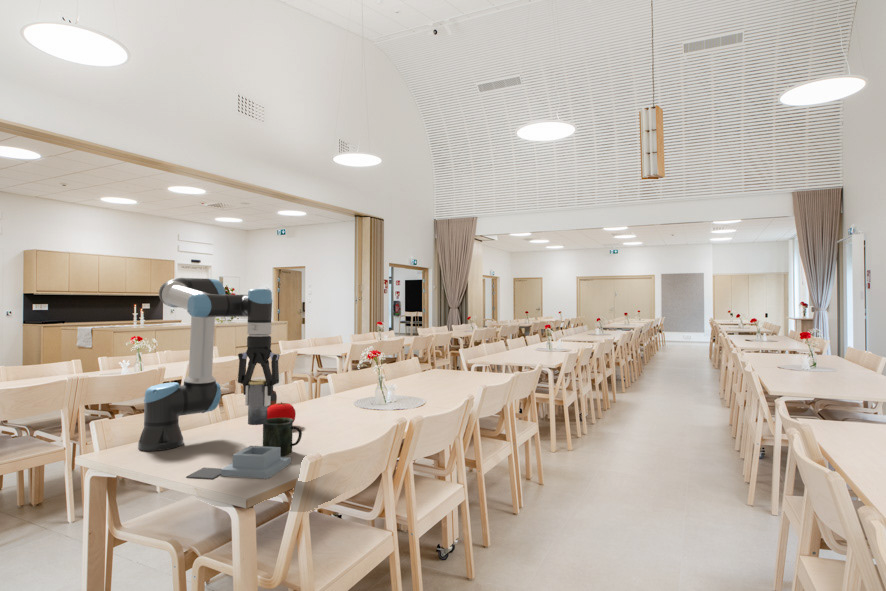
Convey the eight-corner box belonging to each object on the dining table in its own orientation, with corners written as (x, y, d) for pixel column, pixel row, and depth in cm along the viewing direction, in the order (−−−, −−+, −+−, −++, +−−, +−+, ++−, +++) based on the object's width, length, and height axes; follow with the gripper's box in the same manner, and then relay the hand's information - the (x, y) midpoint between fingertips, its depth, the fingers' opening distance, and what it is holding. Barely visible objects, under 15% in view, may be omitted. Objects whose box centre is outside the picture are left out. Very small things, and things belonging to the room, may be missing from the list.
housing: (220, 475, 162) (221, 456, 162) (247, 460, 178) (247, 443, 178) (268, 478, 160) (268, 459, 160) (290, 463, 176) (290, 445, 176)
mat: (186, 477, 160) (186, 476, 160) (203, 468, 169) (203, 467, 169) (212, 479, 159) (212, 478, 159) (228, 470, 168) (228, 469, 168)
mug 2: (283, 412, 257) (283, 389, 257) (270, 417, 245) (270, 393, 246) (268, 411, 259) (268, 388, 259) (254, 416, 247) (254, 392, 248)
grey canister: (244, 424, 167) (245, 381, 167) (253, 420, 173) (254, 378, 173) (261, 425, 166) (262, 382, 166) (270, 421, 172) (271, 379, 172)
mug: (269, 448, 193) (269, 417, 193) (306, 450, 191) (307, 418, 192) (255, 457, 182) (256, 423, 182) (295, 459, 181) (295, 424, 181)
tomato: (288, 431, 220) (288, 405, 220) (259, 429, 222) (260, 404, 222) (300, 424, 232) (300, 400, 232) (273, 423, 234) (273, 399, 234)
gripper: (226, 335, 167) (225, 406, 167) (281, 336, 165) (279, 408, 164) (238, 334, 175) (237, 401, 175) (291, 335, 172) (289, 404, 172)
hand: (257, 405), depth 170 cm, fingers closed on grey canister, 6 cm apart
